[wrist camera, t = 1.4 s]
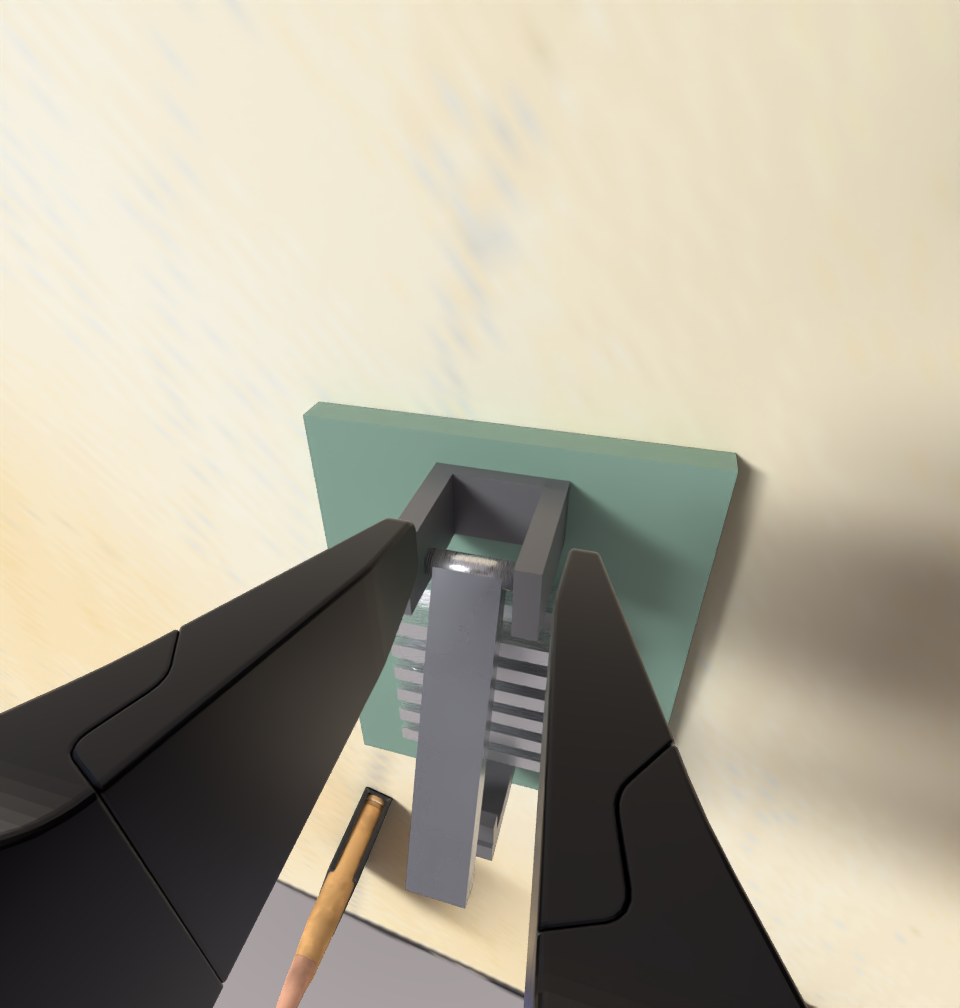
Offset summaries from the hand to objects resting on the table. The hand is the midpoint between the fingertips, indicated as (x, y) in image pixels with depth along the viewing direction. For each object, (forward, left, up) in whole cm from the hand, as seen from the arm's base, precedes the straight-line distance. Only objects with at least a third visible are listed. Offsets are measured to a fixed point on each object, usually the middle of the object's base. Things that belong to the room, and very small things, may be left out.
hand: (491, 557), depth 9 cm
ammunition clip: (+12, +36, -12) cm, 40 cm away
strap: (+3, +12, -5) cm, 13 cm away
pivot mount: (+3, +6, -11) cm, 13 cm away
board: (+2, +14, -12) cm, 19 cm away
